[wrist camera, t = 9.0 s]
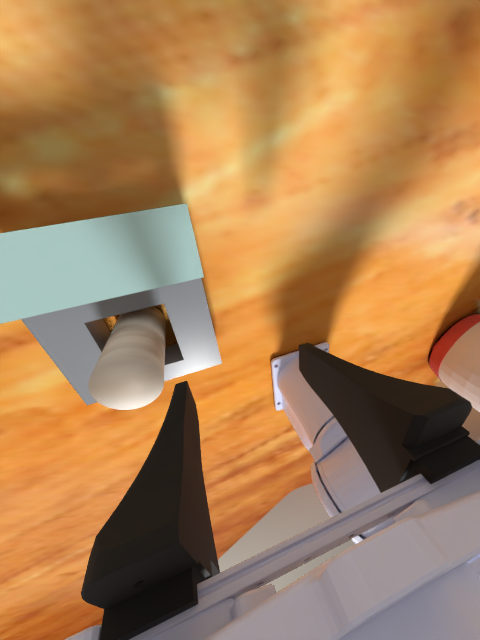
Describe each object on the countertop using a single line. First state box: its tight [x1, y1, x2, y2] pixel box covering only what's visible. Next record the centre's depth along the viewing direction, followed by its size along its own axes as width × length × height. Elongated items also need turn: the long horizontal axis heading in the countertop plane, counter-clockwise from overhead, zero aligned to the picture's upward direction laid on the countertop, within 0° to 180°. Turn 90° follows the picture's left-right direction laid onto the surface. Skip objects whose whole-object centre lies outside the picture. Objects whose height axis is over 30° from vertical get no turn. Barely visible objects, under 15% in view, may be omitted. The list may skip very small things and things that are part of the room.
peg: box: [88, 306, 166, 410], centre depth 16 cm, size 4×4×8 cm
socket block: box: [0, 204, 222, 405], centre depth 16 cm, size 14×12×6 cm
